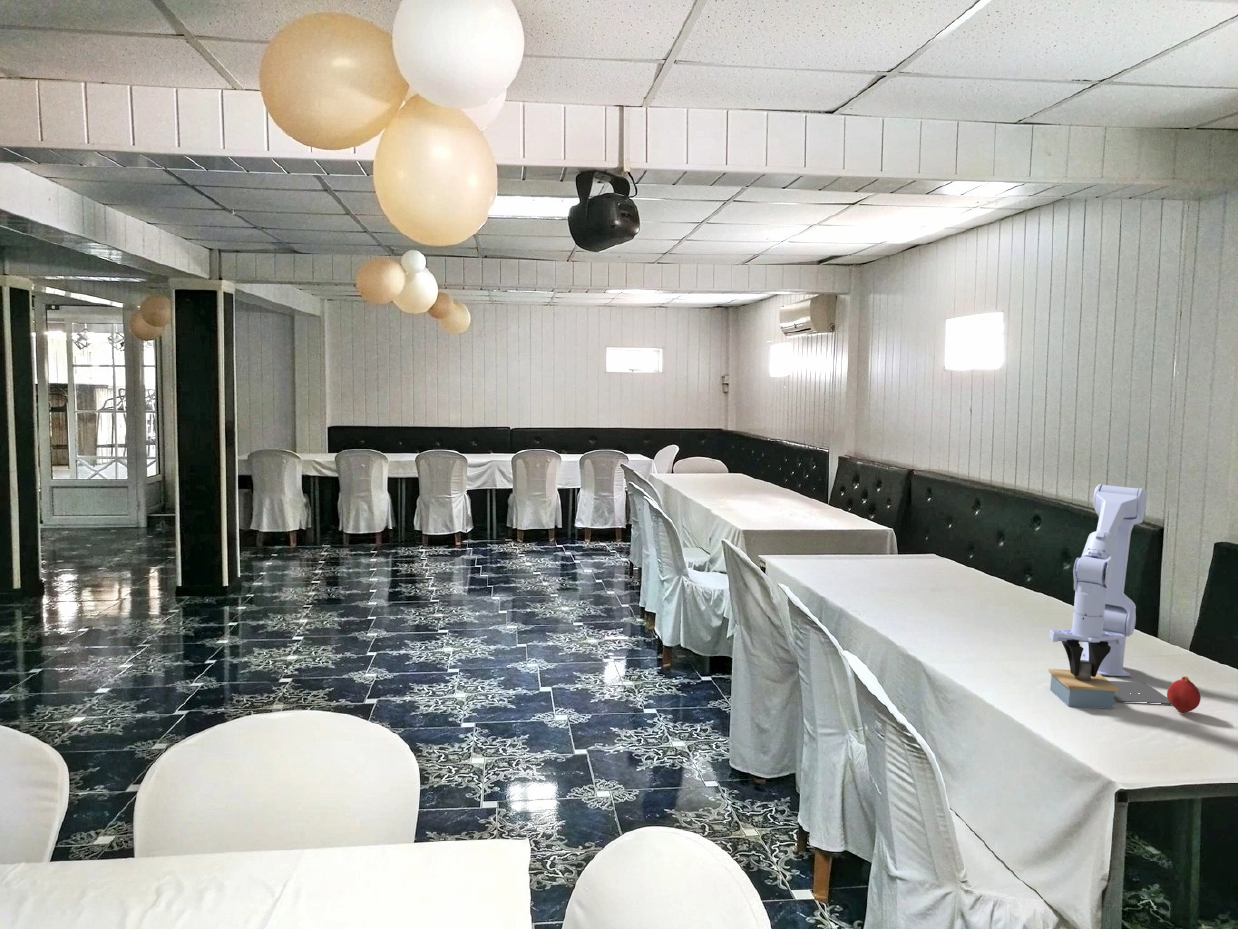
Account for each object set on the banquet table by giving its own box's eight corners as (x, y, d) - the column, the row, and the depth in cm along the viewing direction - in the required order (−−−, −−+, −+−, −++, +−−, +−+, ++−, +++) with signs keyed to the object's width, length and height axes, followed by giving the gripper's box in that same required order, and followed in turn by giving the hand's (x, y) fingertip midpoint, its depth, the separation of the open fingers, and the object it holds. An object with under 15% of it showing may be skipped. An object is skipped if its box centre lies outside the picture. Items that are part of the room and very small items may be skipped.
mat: (1090, 681, 193) (1090, 679, 193) (1145, 684, 192) (1145, 682, 192) (1116, 702, 181) (1117, 700, 181) (1175, 705, 180) (1175, 703, 180)
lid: (1048, 671, 187) (1049, 653, 187) (1095, 673, 187) (1097, 655, 186) (1068, 688, 177) (1070, 669, 177) (1118, 691, 177) (1120, 671, 176)
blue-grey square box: (1050, 690, 187) (1051, 672, 187) (1092, 692, 187) (1094, 674, 186) (1068, 706, 178) (1070, 688, 178) (1113, 708, 178) (1114, 690, 177)
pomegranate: (1167, 705, 180) (1171, 668, 179) (1200, 712, 177) (1204, 675, 176) (1163, 713, 176) (1167, 676, 175) (1196, 721, 172) (1201, 683, 171)
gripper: (1061, 617, 177) (1056, 680, 178) (1134, 620, 176) (1127, 683, 177) (1047, 607, 184) (1042, 668, 185) (1116, 610, 183) (1111, 671, 184)
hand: (1083, 674), depth 182 cm, fingers closed on lid, 3 cm apart
